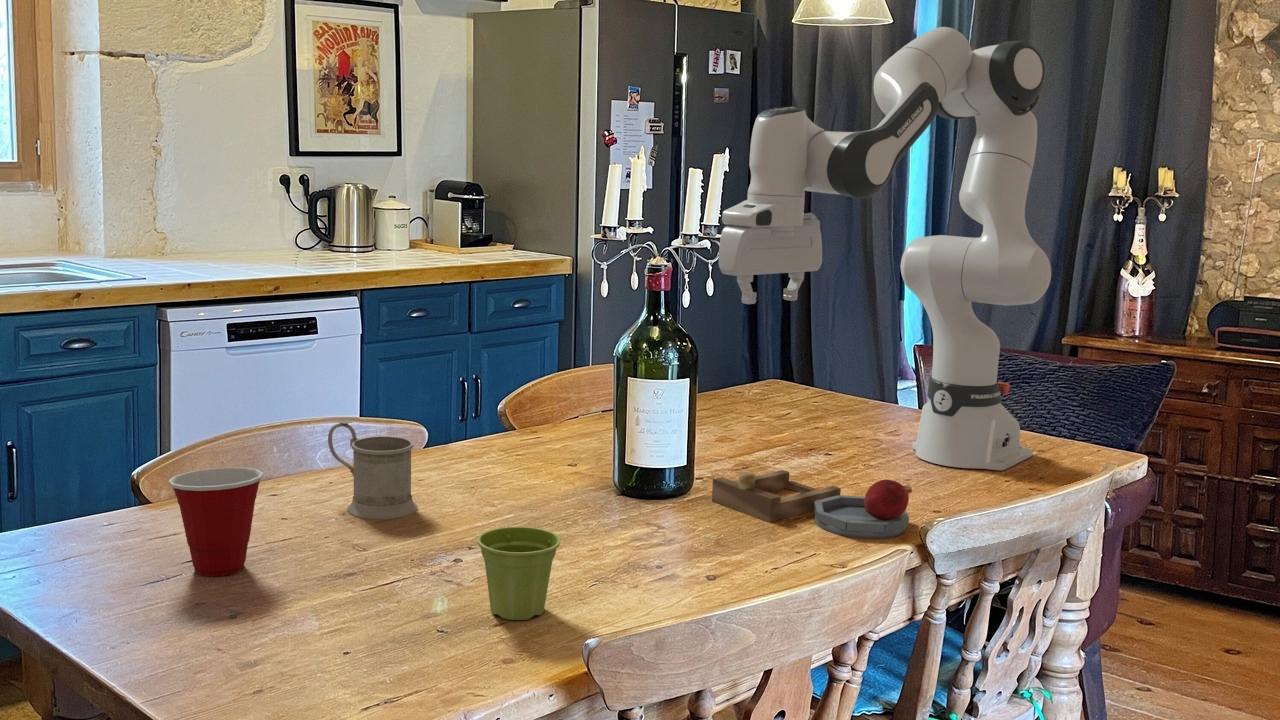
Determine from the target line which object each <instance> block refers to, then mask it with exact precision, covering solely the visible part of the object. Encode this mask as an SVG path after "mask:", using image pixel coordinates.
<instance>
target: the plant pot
mask: <svg viewBox="0 0 1280 720" xmlns="http://www.w3.org/2000/svg"><path fill="white" fill-rule="evenodd" d="M476 541H477V542H476V543H477V545H478V546H479V547H480V551H481V552H480V553H481V556H482V557H483V560H484V567H485V574H486V580H487V581H486V582H487V583H486V584H487V589H488V599H489V607H490V612H491V614H493V615H498V616H499V617H500V618H502V619H505V620H510V621H525V620H530V619H532V618H533V617H535V616H540V615H543V614H544V611H545V607H546V600H547V595H548V588H549V582H550V577H551V573H552V572H551V571H552V565H553V561H554V560H553V559H554V558H555V556H556V554H557V553H556V552H557V548H559V546H560V545H561V537H560V536H559V535H558V534H557V533H555V532H553V531H550V530H547V529H544V528H538V527H531V526H506V527H505V526H504V527H498V528H493V529H489V530H485V531H484V532H481V533H480V534H479V535H478V536H477V539H476Z"/></svg>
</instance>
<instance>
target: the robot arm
mask: <svg viewBox="0 0 1280 720" xmlns="http://www.w3.org/2000/svg"><path fill="white" fill-rule="evenodd" d="M1044 80H1045V64H1044V60H1043V59H1042V56H1041V54H1040V52H1039V51H1038V50H1037V48H1036V47H1035V46H1034V45H1033V44H1031V43H1030V42H1027V41H1024V40H1023V41H1022V40H1010V41H1003V42H1001V43H999V44H994V45H987V46H984V47H980V48H977V49H974V50H972V46H971V45H970V41H968V39H967V37H966V36H965V35H964V34H963V33H961V32H960V31H959V30H957V29H955V28H952V27H948V26H939V27H935V28H933V29H931V30H929V31H926V32H925V33H923V34H921V35H919V36H917V37H916V38H914V39H912V40H911V41H910V42H908V43H907V44H905V45H904V46H902V47H901V48H900V49H899V50H898V51H896V52H895V53H894V54H893V55H891V56H890V57H889V58H888V59H887V60H885V62H884V63H883V64H881V66H880V68H879V69H878V70H877V71H876V74H875V75H874V80H873V94H874V98H875V101H876V104H877V105H878V107H879V109H880V110H881V112H882V113H883V114H884V115H885V116H884V118H883V119H882V120H881V121H880V122H879V123H878V124H877V125H876V126H875V127H873V128H872V129H868V130H861V131H831V130H830V131H829V130H825V129H824V128H822V127H820V126H818V125H817V124H815V123H814V122H813V121H812V120H811V119H810V118H809V117H808V115H807V112H806V110H805V109H804V108H801V107H798V106H783V107H774V108H769V109H765V110H763V111H762V112H760V113H758V115H757V117H756V118H755V121H754V125H753V128H752V132H751V138H750V147H749V148H750V149H749V164H748V165H749V170H750V184H749V186H748V189H747V196H746V197H747V198H746V199H745V200H743V201H741V202H739V203H738V204H736V205H734V206H732V207H729V208H727V209H725V210H723V211H722V215H721V221H722V224H724V225H726V226H724V228H723V229H722V230H721V234H720V239H719V249H718V267H719V269H720V272H721V273H722V274H723V275H728V276H735V277H736V282H737V284H738V287H739V289H740V292H741V303H742V304H745V305H753V304H754V305H755V304H756V302H757V295H758V294H757V293H758V292H756V291H755V292H754V291H753V287H752V284H751V283H753V282H754V276H755V275H756V276H757V275H771V274H773V275H774V274H787V273H788V278H790V279H789V282H788V285H787V287H785V288H783V292H782V293H783V296H782V299H783V300H785V301H796V300H798V296H799V295H798V293H799V289H800V287H801V286H802V283H803V282H804V279H805V272H806V273H807V272H816V271H817V272H818V270H820V268H821V266H822V264H823V239H822V232H821V229H820V228H821V227H820V226H821V221H820V220H819V219H818V217H817V216H816V215H815V213H813V212H807V213H805V212H804V211H805V200H806V199H805V198H806V197H805V196H806V192H812V193H820V194H830V195H840V196H841V195H842V196H846V197H850V198H855V199H859V200H866V199H869V198H872V197H874V196H876V195H878V193H880V191H882V189H883V188H884V187H885V185H886V184H887V183H888V181H889V180H890V178H891V175H892V173H893V172H894V169H895V167H896V166H897V165H898V164H899V162H900V160H902V158H903V157H904V156H905V155H906V153H908V151H909V150H910V149H911V147H912V146H913V145H914V144H915V143H916V142H917V141H918V140H919V138H920V137H921V136H922V135H923V133H924V132H925V131H926V130H927V129H928V127H929V126H930V125H931V123H933V120H934V119H935V118H936V116H937V115H938V116H939V117H940V118H943V119H947V120H961V119H962V120H963V119H965V118H970V117H974V118H975V126H976V131H975V133H976V134H975V137H974V138H973V141H972V145H971V146H970V151H969V155H968V157H967V162H966V166H965V169H964V172H963V173H964V174H963V178H962V182H961V186H960V190H959V194H958V199H959V205H960V208H961V209H962V210H963V212H964V213H965V214H966V215H967V216H968V217H969V218H970V219H972V220H973V221H976V222H977V223H979V224H980V225H982V233H981V236H980V237H970V236H969V237H968V236H957V235H946V234H945V235H944V234H937V235H929V236H921V237H916V238H914V239H913V240H912V241H911V242H910V243H909V244H908V245H907V246H906V248H905V249H904V251H903V253H902V256H901V259H900V273H901V277H902V281H903V282H904V284H905V286H906V287H907V288H908V290H910V291H911V292H912V293H913V294H914V295H915V296H916V297H917V298H918V300H919V301H920V303H921V304H922V307H924V310H925V311H926V314H927V316H928V319H929V322H930V325H931V328H932V329H931V330H932V339H933V340H932V341H933V342H932V343H933V344H932V345H933V347H932V352H933V353H932V368H931V376H929V379H928V383H927V388H926V389H927V398H928V400H927V402H926V403H925V404H924V405H923V406H922V409H921V410H922V411H921V415H920V420H919V425H918V431H917V437H916V440H914V441H913V440H912V442H911V448H912V449H913V450H914V451H915V452H914V453H915V456H916V457H917V458H919V459H921V460H923V461H926V462H929V463H932V464H937V465H940V466H945V467H952V468H962V469H980V470H981V469H984V470H992V471H993V470H994V471H1005V470H1007V469H1009V468H1010V467H1013V466H1015V465H1017V464H1019V463H1021V462H1023V461H1025V460H1027V459H1029V458H1031V457H1032V456H1033V450H1032V449H1030V448H1028V447H1026V446H1023V445H1021V444H1020V441H1021V439H1020V438H1021V426H1020V422H1019V421H1018V420H1017V419H1016V418H1015V417H1014V416H1013V415H1012V414H1011V413H1010V412H1009V411H1008V410H1007V409H1006V407H1005V406H1003V404H1002V403H1001V402H1002V396H1001V394H1003V395H1009V392H1010V391H1011V390H1010V389H1011V385H1010V383H1009V382H1003V381H997V380H998V370H999V360H1000V349H1001V343H1000V339H999V336H998V335H997V334H996V332H995V331H994V330H993V329H992V328H991V327H989V325H987V324H985V323H983V322H982V321H980V320H979V318H978V317H977V316H976V314H975V313H974V309H973V306H972V303H973V302H974V303H981V304H988V305H999V306H1005V307H1006V306H1008V307H1010V306H1023V305H1031V304H1035V303H1036V302H1038V301H1039V300H1040V299H1041V298H1042V297H1043V296H1044V295H1045V293H1046V292H1047V290H1048V288H1049V286H1050V283H1051V278H1052V267H1051V262H1050V259H1049V258H1048V255H1047V254H1046V252H1045V251H1044V250H1043V248H1041V247H1040V246H1039V245H1038V244H1037V243H1036V242H1035V240H1034V239H1033V238H1032V236H1031V234H1030V232H1029V230H1028V227H1027V223H1026V222H1027V221H1026V217H1025V216H1026V215H1025V214H1026V213H1025V212H1026V211H1025V210H1026V202H1027V198H1028V196H1027V195H1028V190H1029V187H1030V186H1029V185H1030V182H1031V178H1032V173H1033V169H1034V164H1035V157H1036V152H1037V151H1036V150H1037V145H1038V144H1037V143H1038V121H1037V119H1036V116H1035V115H1034V113H1033V112H1032V110H1033V109H1034V108H1035V106H1036V105H1037V103H1038V101H1039V98H1040V93H1041V91H1042V90H1043V89H1042V88H1043V85H1044ZM1028 108H1029V109H1028ZM805 191H806V192H805Z"/></svg>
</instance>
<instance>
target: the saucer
mask: <svg viewBox="0 0 1280 720" xmlns="http://www.w3.org/2000/svg"><path fill="white" fill-rule="evenodd" d="M864 501H865V496H858V495H841V494H840V495H837V496H833V497H829V498H825V499H821V500H817V501H815V503H814V511H813V512H814V523H815V524H816V525H817V526H818V527H820V528H821V529H822V530H825V531H826V532H830V533H833V534H836V535H839V536H844V537H849V538H856V539H868V540H869V539H870V540H872V539H873V540H874V538H875V539H876V538H881V539H886V538H885V537H890V538H893V537H892V536H895V537H897V535H898V536H900V535H902V534H904V533H905V532H906V529H907V527H909V524H910V523H909V521H910V517H909V514H908V512H907V511H906V510H907V509H906V510H905V511H904V513H903V514H902V515H900V516H899V517H898V518H895V519H891V520H887V521H884V520H879V519H876V518H874V517H872V516H871V515H870V514H868V513H867V512H866V510H865V504H864ZM904 531H905V532H904ZM903 532H904V533H903ZM901 533H902V534H901Z"/></svg>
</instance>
